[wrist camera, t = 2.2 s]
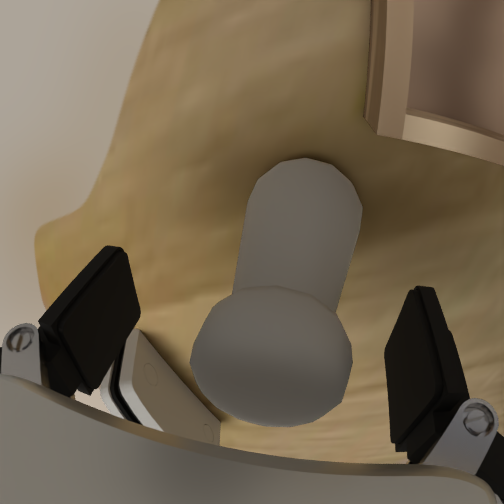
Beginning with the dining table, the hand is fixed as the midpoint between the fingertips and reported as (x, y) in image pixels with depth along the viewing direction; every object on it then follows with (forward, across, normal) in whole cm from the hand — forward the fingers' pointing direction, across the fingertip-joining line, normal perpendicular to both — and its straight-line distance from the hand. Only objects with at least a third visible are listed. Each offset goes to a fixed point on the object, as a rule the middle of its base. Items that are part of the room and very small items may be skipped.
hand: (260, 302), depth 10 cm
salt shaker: (+10, -1, 0) cm, 10 cm away
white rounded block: (+10, +10, +22) cm, 27 cm away
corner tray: (+9, -9, -10) cm, 17 cm away
